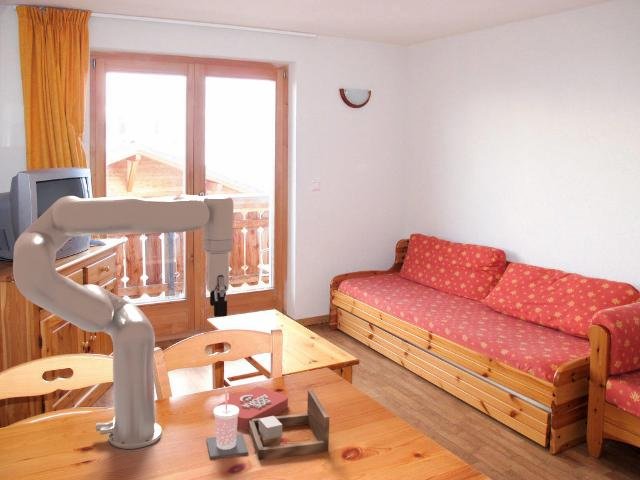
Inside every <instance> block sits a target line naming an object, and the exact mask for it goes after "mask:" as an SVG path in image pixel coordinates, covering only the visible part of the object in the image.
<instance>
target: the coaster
mask: <svg viewBox="0 0 640 480" xmlns="http://www.w3.org/2000/svg"><path fill="white" fill-rule="evenodd" d="M244 437H245V436H244V434H243V433H240V434H237V435H236V445H235V447H234V448H231V449H227V450H225V449H220V448H218V447H217V442H216V436H211V437H206V445H207V450H208V455H209V459H210V460H211V459H219V458H220V459H221V458H228V457H238V456H245V455H246V456H247V455H249V449H248V447H247V444H246V439H245V438H244Z"/></svg>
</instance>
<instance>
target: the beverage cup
mask: <svg viewBox="0 0 640 480" xmlns="http://www.w3.org/2000/svg"><path fill="white" fill-rule="evenodd" d="M224 393H225V398H224V399H225V401H224V402H225V405H221V406H218V405H217V406H218V407H217V406H216V407H215V408H214V409H213V416H214V424H215V437H216V442H217V447H218V448H220V449H225V450H227V449H231V448H234V447H235V445H236V435H237V433H238V426H237V421H238V414H239V408H238V407H236V406H234V405H227V400H228V389H226V390H225V392H224Z"/></svg>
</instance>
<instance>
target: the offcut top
mask: <svg viewBox="0 0 640 480" xmlns="http://www.w3.org/2000/svg"><path fill="white" fill-rule="evenodd" d="M259 431H260V432H261V433H262V434H263V436H264V437H265V438H266V439H272V438H276V437H280V438H281V437H282V436H283V427H282V424H281V423H280V422H279V421H278V420H277V419H276V418H275V415H274V416H270V417H265V418H261V419H259ZM259 431H258V432H259Z"/></svg>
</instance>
